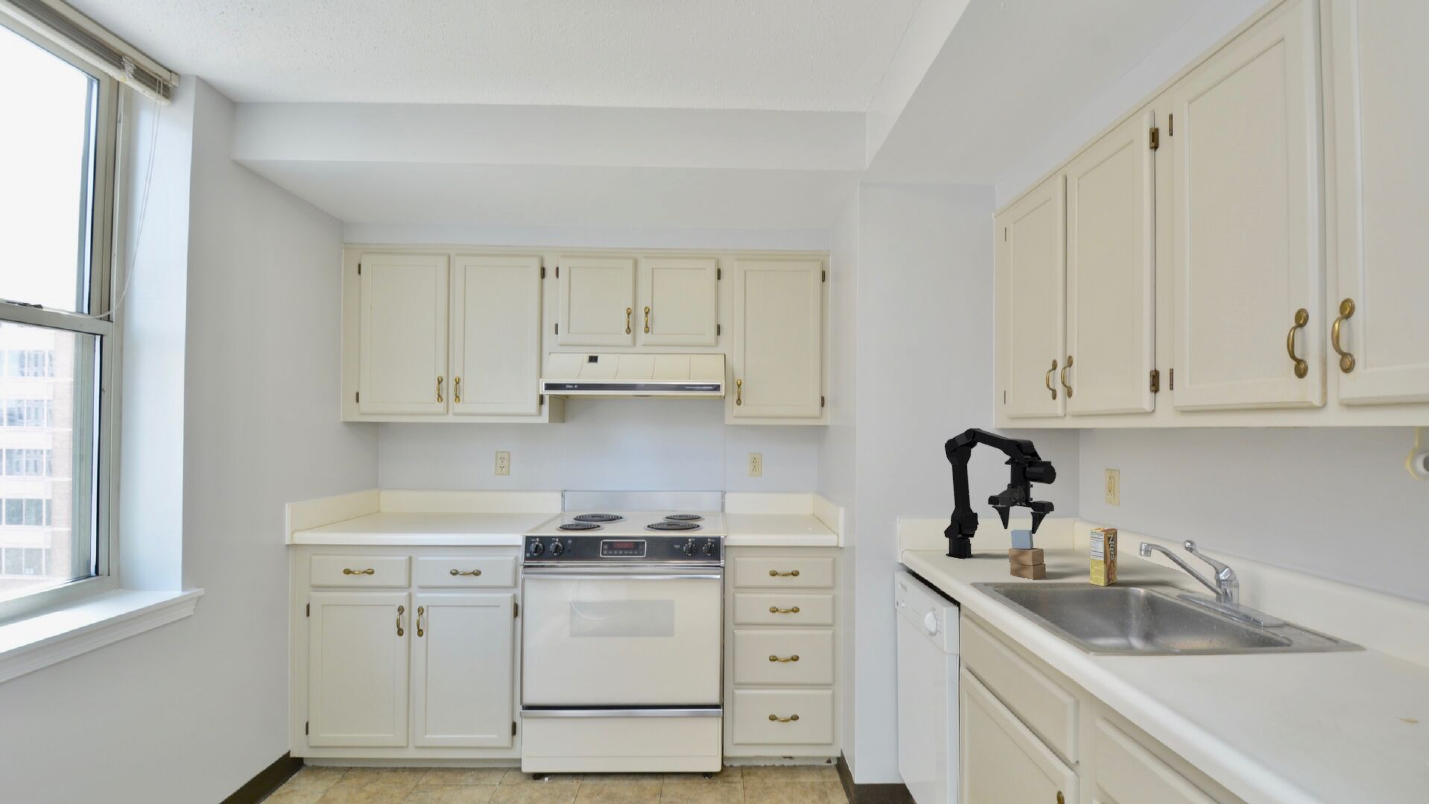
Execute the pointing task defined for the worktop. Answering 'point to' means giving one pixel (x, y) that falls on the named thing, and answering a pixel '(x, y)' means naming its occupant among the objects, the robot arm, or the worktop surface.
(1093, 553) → the candy box
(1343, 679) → the worktop surface
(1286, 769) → the worktop surface
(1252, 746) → the worktop surface
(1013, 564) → the tower base
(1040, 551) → the tower top
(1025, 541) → the blue block
